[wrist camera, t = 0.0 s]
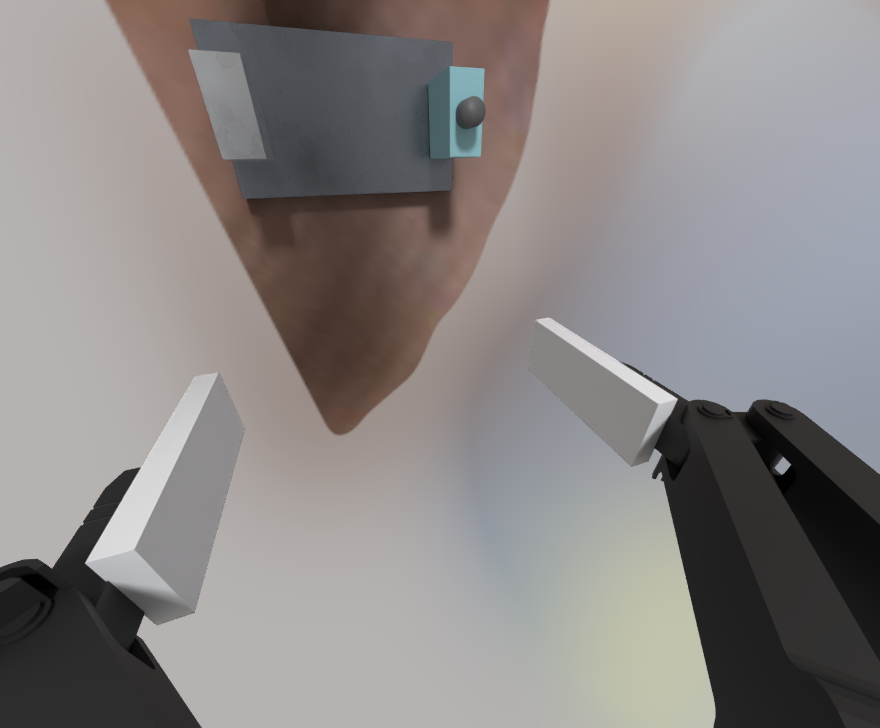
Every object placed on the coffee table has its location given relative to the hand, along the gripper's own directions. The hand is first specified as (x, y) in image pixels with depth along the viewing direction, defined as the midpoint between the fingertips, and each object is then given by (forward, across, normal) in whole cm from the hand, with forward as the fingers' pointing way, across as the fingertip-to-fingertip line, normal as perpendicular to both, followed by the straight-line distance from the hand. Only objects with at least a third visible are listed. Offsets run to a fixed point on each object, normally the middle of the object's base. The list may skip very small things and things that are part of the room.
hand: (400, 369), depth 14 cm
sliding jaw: (+26, +11, +11) cm, 31 cm away
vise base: (+28, +2, +11) cm, 30 cm away
